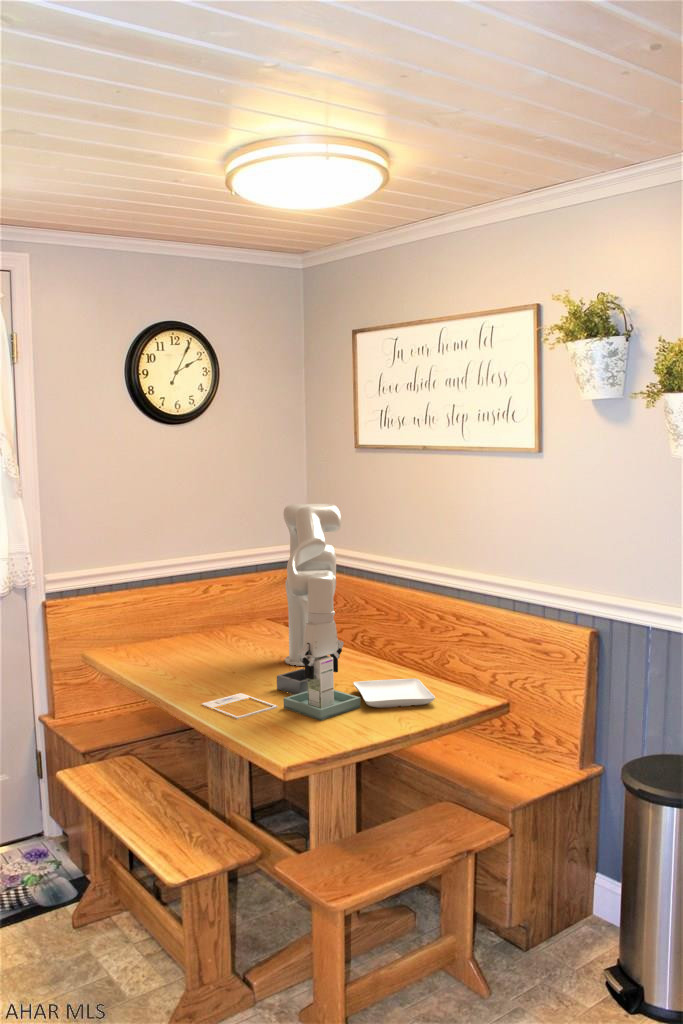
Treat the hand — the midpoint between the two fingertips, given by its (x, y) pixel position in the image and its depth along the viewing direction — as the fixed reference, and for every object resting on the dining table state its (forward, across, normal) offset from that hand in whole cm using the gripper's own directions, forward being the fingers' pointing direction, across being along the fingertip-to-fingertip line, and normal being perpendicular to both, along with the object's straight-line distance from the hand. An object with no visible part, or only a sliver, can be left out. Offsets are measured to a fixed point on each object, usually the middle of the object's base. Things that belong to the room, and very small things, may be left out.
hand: (321, 674), depth 251 cm
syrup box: (+9, 0, 0) cm, 9 cm away
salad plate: (+10, -21, +9) cm, 25 cm away
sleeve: (+10, -8, -18) cm, 22 cm away
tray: (+10, 0, 0) cm, 10 cm away
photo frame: (+10, +16, -19) cm, 27 cm away
